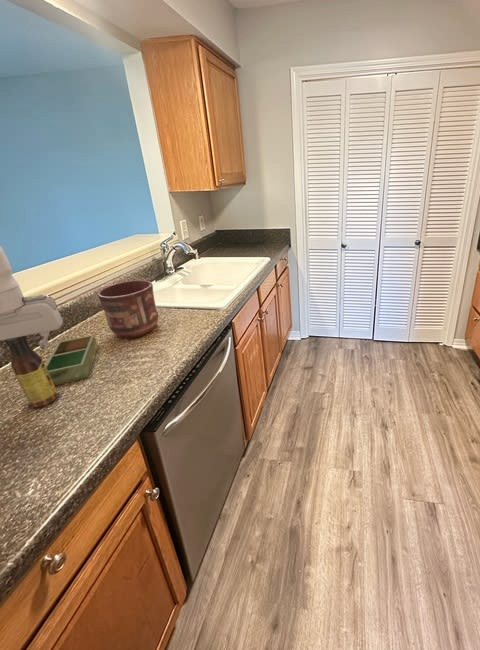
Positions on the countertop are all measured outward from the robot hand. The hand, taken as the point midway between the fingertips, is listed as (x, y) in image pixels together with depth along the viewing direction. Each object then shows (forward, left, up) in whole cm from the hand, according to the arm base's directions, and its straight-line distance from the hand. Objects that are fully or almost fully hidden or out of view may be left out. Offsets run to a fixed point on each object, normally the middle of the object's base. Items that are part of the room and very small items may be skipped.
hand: (23, 351), depth 82 cm
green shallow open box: (+4, +17, -16) cm, 23 cm away
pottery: (+22, +33, -16) cm, 43 cm away
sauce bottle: (0, 0, -16) cm, 16 cm away
